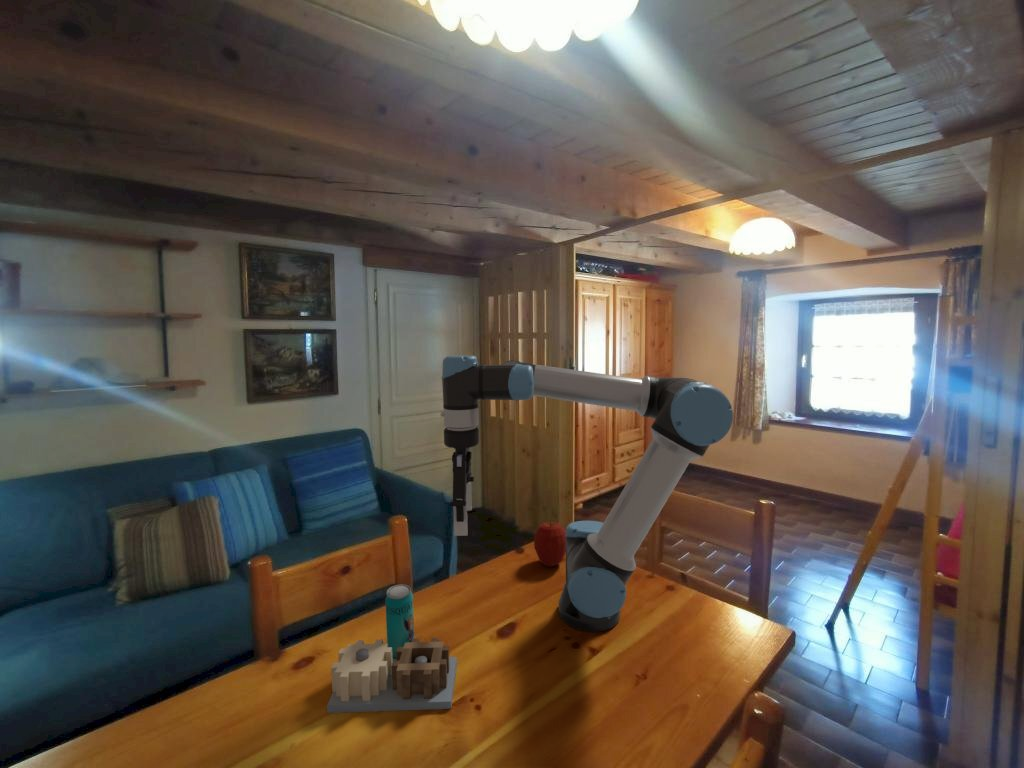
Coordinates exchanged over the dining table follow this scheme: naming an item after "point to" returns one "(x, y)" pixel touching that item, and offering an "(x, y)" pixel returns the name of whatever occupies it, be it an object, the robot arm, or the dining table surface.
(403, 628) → the beverage can
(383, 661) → the gear board
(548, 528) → the apple
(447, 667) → the walnut gear
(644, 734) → the dining table surface
